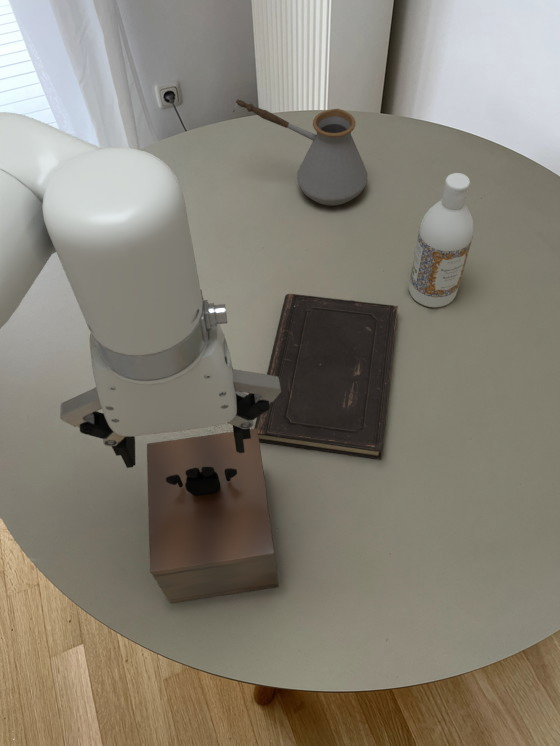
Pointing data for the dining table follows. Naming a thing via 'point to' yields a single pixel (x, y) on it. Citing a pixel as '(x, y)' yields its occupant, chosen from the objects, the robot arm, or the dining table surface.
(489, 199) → the dining table surface
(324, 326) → the hardcover book
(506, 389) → the dining table surface
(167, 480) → the wireless earbuds
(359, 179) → the coffee pot
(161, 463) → the bronze lidded case
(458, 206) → the bath foam
